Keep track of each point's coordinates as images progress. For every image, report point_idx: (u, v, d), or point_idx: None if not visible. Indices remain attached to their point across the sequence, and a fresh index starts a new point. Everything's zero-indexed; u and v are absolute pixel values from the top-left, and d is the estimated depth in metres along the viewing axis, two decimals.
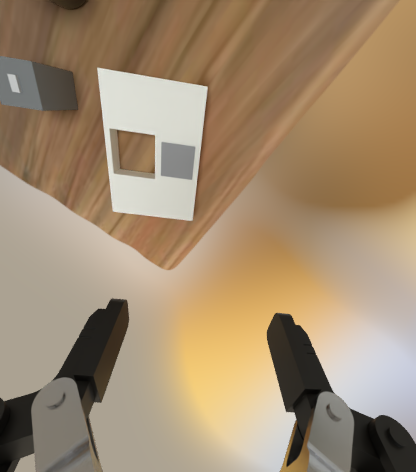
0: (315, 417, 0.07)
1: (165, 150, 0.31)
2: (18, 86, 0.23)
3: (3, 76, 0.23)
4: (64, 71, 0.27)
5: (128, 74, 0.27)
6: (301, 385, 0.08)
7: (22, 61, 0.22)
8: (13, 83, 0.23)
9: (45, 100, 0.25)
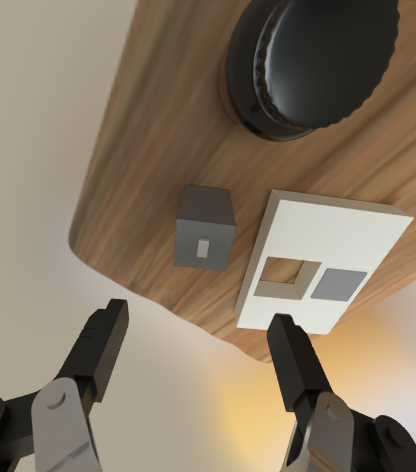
0: (315, 417, 0.07)
1: (329, 276, 0.25)
2: (207, 250, 0.17)
3: (190, 240, 0.16)
4: (228, 197, 0.21)
5: (317, 206, 0.20)
6: (301, 385, 0.08)
7: (224, 226, 0.16)
8: (202, 249, 0.17)
9: None
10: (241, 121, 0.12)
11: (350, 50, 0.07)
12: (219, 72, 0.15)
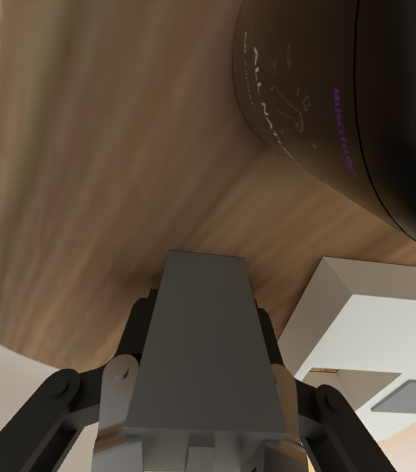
0: None
1: (410, 389, 0.15)
2: (210, 465, 0.07)
3: (167, 449, 0.07)
4: None
5: None
6: None
7: (254, 433, 0.06)
8: (197, 467, 0.07)
9: None
10: None
11: None
12: (245, 14, 0.05)
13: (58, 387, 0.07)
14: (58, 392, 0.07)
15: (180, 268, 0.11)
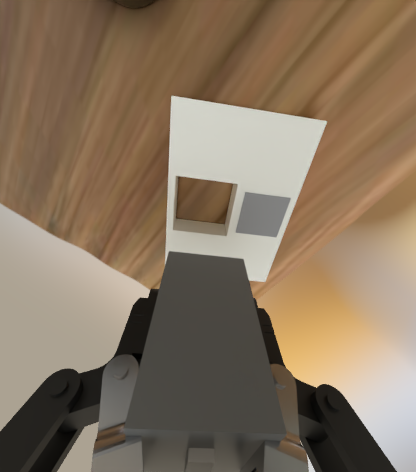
0: None
1: (249, 202, 0.23)
2: (210, 466, 0.07)
3: (167, 449, 0.07)
4: None
5: (215, 104, 0.18)
6: None
7: (254, 435, 0.06)
8: (197, 468, 0.07)
9: None
10: None
11: None
12: None
13: (58, 387, 0.07)
14: (58, 392, 0.07)
15: (180, 269, 0.11)
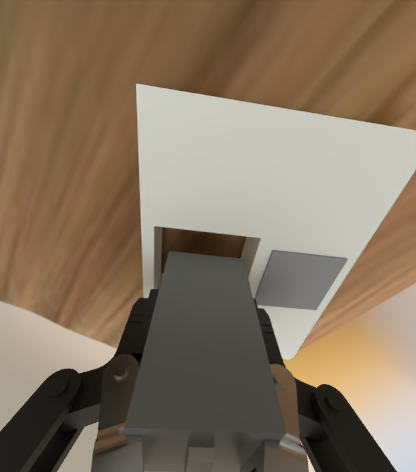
0: None
1: (278, 265, 0.14)
2: (210, 465, 0.07)
3: (167, 449, 0.07)
4: None
5: (225, 102, 0.09)
6: None
7: (254, 434, 0.06)
8: (197, 467, 0.07)
9: None
10: None
11: None
12: None
13: (58, 387, 0.07)
14: (58, 392, 0.07)
15: (180, 269, 0.11)
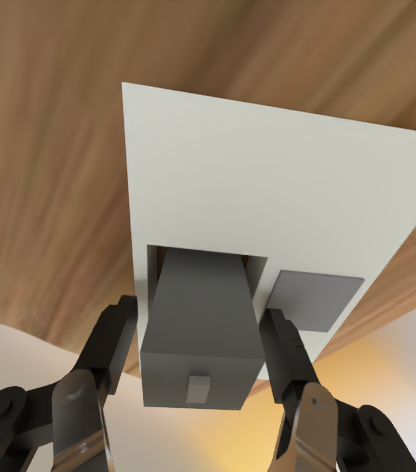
0: (300, 406, 0.07)
1: (287, 286, 0.12)
2: (207, 394, 0.09)
3: (172, 378, 0.08)
4: None
5: (229, 104, 0.08)
6: (288, 376, 0.08)
7: (240, 360, 0.08)
8: (196, 393, 0.08)
9: None
10: None
11: None
12: None
13: (0, 408, 0.06)
14: None
15: None
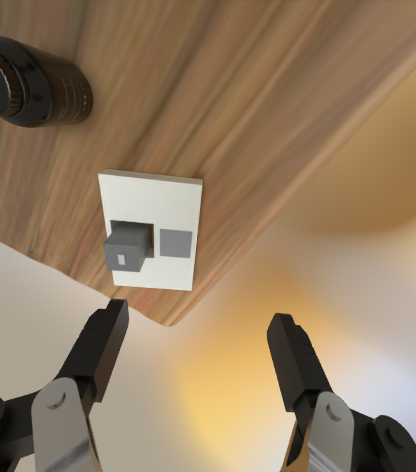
0: (315, 417, 0.07)
1: (164, 235, 0.33)
2: (124, 260, 0.29)
3: (114, 254, 0.29)
4: (148, 226, 0.33)
5: (127, 178, 0.28)
6: (301, 385, 0.08)
7: (130, 246, 0.28)
8: (121, 259, 0.29)
9: (140, 263, 0.30)
10: None
11: None
12: None
13: None
14: None
15: (125, 222, 0.33)
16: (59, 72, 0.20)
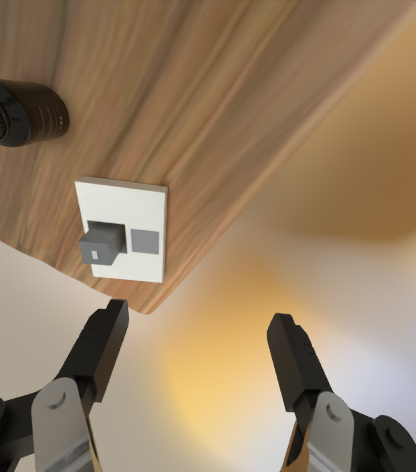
0: (315, 417, 0.07)
1: (134, 234, 0.38)
2: (97, 255, 0.34)
3: (88, 250, 0.34)
4: (121, 226, 0.38)
5: (100, 185, 0.33)
6: (301, 385, 0.08)
7: (102, 244, 0.33)
8: (94, 255, 0.34)
9: (112, 257, 0.36)
10: None
11: None
12: None
13: None
14: None
15: (101, 222, 0.38)
16: (36, 102, 0.25)
